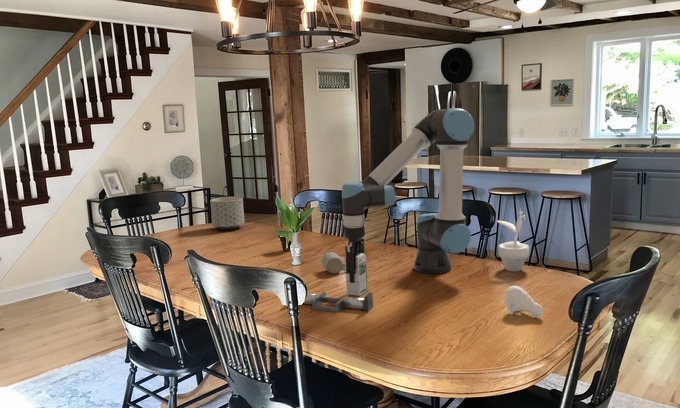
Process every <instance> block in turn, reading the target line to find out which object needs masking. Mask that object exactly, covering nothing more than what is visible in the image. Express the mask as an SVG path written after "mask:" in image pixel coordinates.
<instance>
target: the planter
mask: <svg viewBox="0 0 680 408" xmlns="http://www.w3.org/2000/svg"><path fill="white" fill-rule="evenodd" d="M209 201H210V211H211V213H210V215H211V224H212V226H213V227H215V228H217V229H220V230H222V231H232V230H236V229H238V228H239V227H241V225H244V224H246V223H245V213H244V212H245V211H244V209H245V208H244V199H243V197H241V196H223V197H221V196H220V197H217V198H212V199H210V200H209Z"/></svg>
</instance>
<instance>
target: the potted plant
mask: <svg viewBox="0 0 680 408" xmlns="http://www.w3.org/2000/svg"><path fill="white" fill-rule="evenodd" d="M518 213H519V215H520V216H519V217H518V218H517V220H516V224H515V225H514V224H513V223H511V222H507V221H505V220H504V221H503V220H496V222H497V223H498V224H499V225H502V226H503V227H506V228H507V229H508V230H509V231H510V232H511V233H513V234H514V237H513V240H512V241H507V242H506V241H505V242H504V243H500V244H499V245H498V249H497V251H498V257H500V258H501V261H502V265H503V267H504V269H505V270H506V271H508V272H515V273H516V272H520V271H522V270H523V267H524V264H525V262H526V259H527V258H529V256H530V245H528V244H527V243H522V242H520V241H519V240H518V237H519V232H520V230H521V228H522V226H523V225H522V223H523V222H522V219H523V220H526V215H525V214H524V211H522V209H520V211H518ZM523 214H524V215H523Z"/></svg>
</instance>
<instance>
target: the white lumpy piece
mask: <svg viewBox="0 0 680 408" xmlns="http://www.w3.org/2000/svg"><path fill="white" fill-rule="evenodd" d="M503 298H504V303H505V305H506V308H507V311H508V313H509V315H511V316H512V315H514V313H515V312H520V311H521V312H526V313H530V314H531V316H530V317H531V318H532V319H535V318H536V319H539V318H540V316H542V315H543V312H544V309H543V307H542V305H541V304H539V303H537V302H536V301H534V299H533V298H532V297H531V296H530V295H529V293H528V291H526V290H525V288H522V287H520V286H518V285H511V286H510V287H508V288H507V289H506V290H505V295H504V297H503Z"/></svg>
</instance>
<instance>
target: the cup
mask: <svg viewBox="0 0 680 408" xmlns="http://www.w3.org/2000/svg"><path fill="white" fill-rule="evenodd" d="M277 237H278V238H279V241H280V244H281V248H282V252H284V253H287V252H288V253H289V252H291V251H290V245H291V241H289V243H288V248H287V249H286V238H285V237H280V236H279V235H278V234H277Z"/></svg>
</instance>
